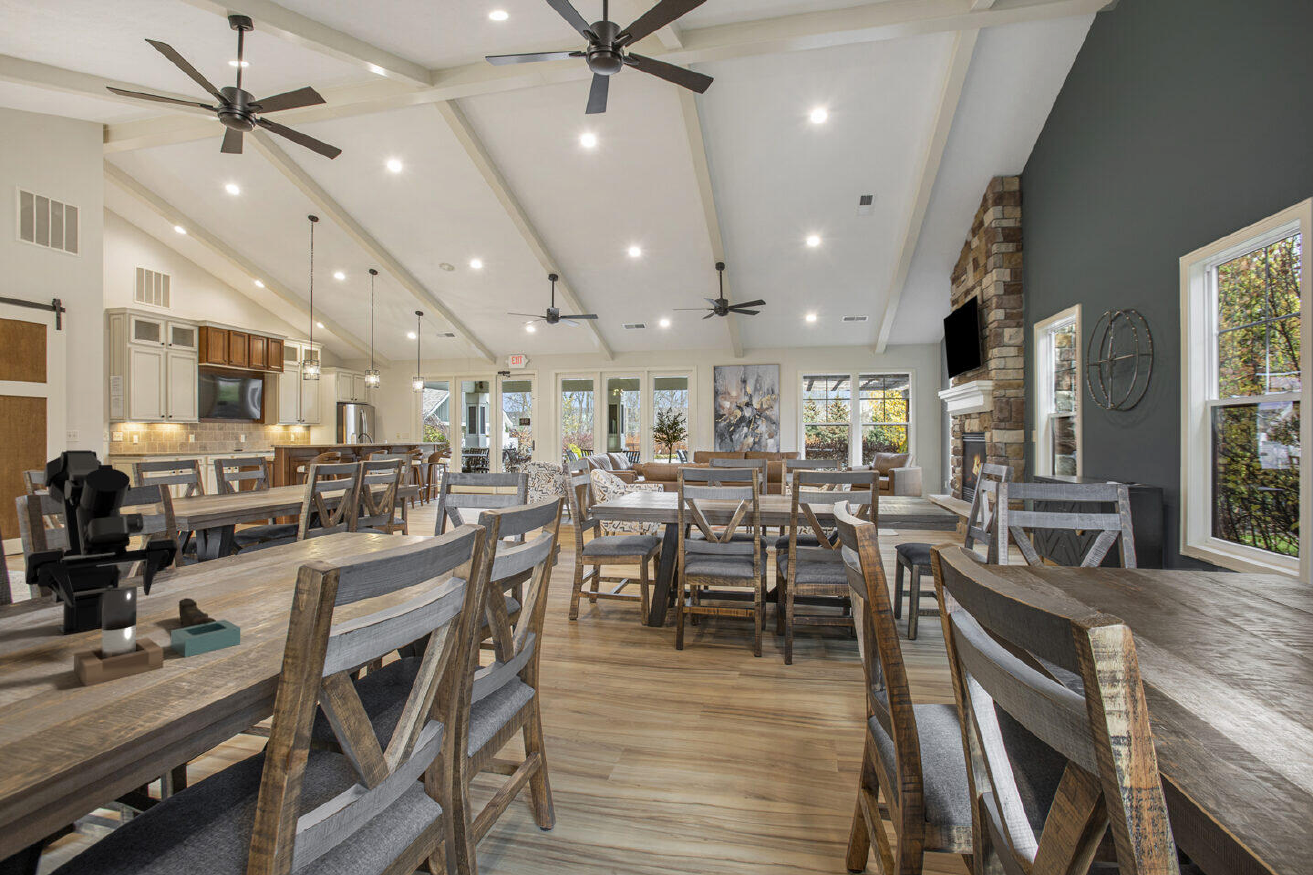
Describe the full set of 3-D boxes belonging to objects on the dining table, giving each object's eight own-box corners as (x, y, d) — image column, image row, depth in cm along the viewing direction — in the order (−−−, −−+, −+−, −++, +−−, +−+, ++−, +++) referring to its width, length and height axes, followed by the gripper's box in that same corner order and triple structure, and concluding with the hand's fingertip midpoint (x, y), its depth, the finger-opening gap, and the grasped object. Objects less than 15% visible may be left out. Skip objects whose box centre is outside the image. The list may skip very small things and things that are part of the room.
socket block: (170, 647, 101) (171, 630, 101) (224, 634, 107) (224, 619, 107) (185, 657, 96) (185, 639, 96) (240, 643, 103) (240, 627, 103)
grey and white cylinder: (105, 667, 92) (106, 588, 92) (138, 662, 94) (139, 585, 94) (98, 676, 88) (99, 594, 88) (132, 671, 90) (133, 590, 91)
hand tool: (216, 637, 107) (216, 612, 107) (189, 642, 104) (189, 617, 104) (200, 616, 120) (200, 594, 120) (175, 620, 117) (176, 597, 117)
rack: (73, 671, 90) (74, 653, 90) (147, 654, 97) (147, 637, 97) (85, 686, 85) (86, 666, 85) (163, 667, 92) (163, 648, 92)
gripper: (28, 503, 91) (34, 582, 84) (175, 495, 106) (191, 562, 99) (22, 545, 96) (27, 623, 89) (164, 532, 111) (178, 598, 104)
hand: (111, 599), depth 95 cm, fingers open, 9 cm apart
